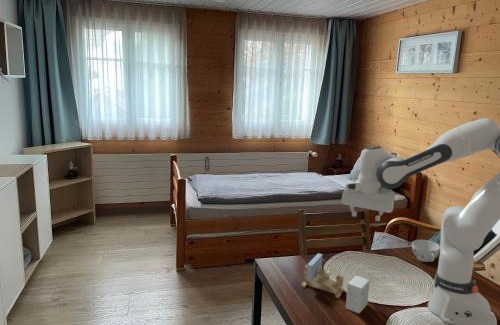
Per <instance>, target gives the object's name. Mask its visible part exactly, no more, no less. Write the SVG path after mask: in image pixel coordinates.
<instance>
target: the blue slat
mask: <svg viewBox="0 0 500 325" xmlns="http://www.w3.org/2000/svg"><path fill="white" fill-rule="evenodd" d="M306 265H307V281H310V282H311V281H312V280H313V279H314V278H315V277H316V275H317V270H318V269H322V268H323V267H322V265H323V253H316V255H315V256H314V257H313V258H312V259H311V260H310V261H309V262H308V263H307V264H306Z"/></svg>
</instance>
